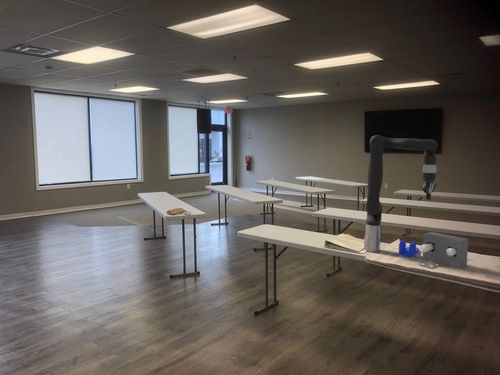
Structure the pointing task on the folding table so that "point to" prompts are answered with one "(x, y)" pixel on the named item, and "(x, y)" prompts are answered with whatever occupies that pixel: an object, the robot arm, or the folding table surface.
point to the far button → (427, 247)
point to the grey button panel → (441, 247)
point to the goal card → (428, 265)
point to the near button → (451, 251)
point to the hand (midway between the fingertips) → (428, 199)
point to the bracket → (408, 249)
